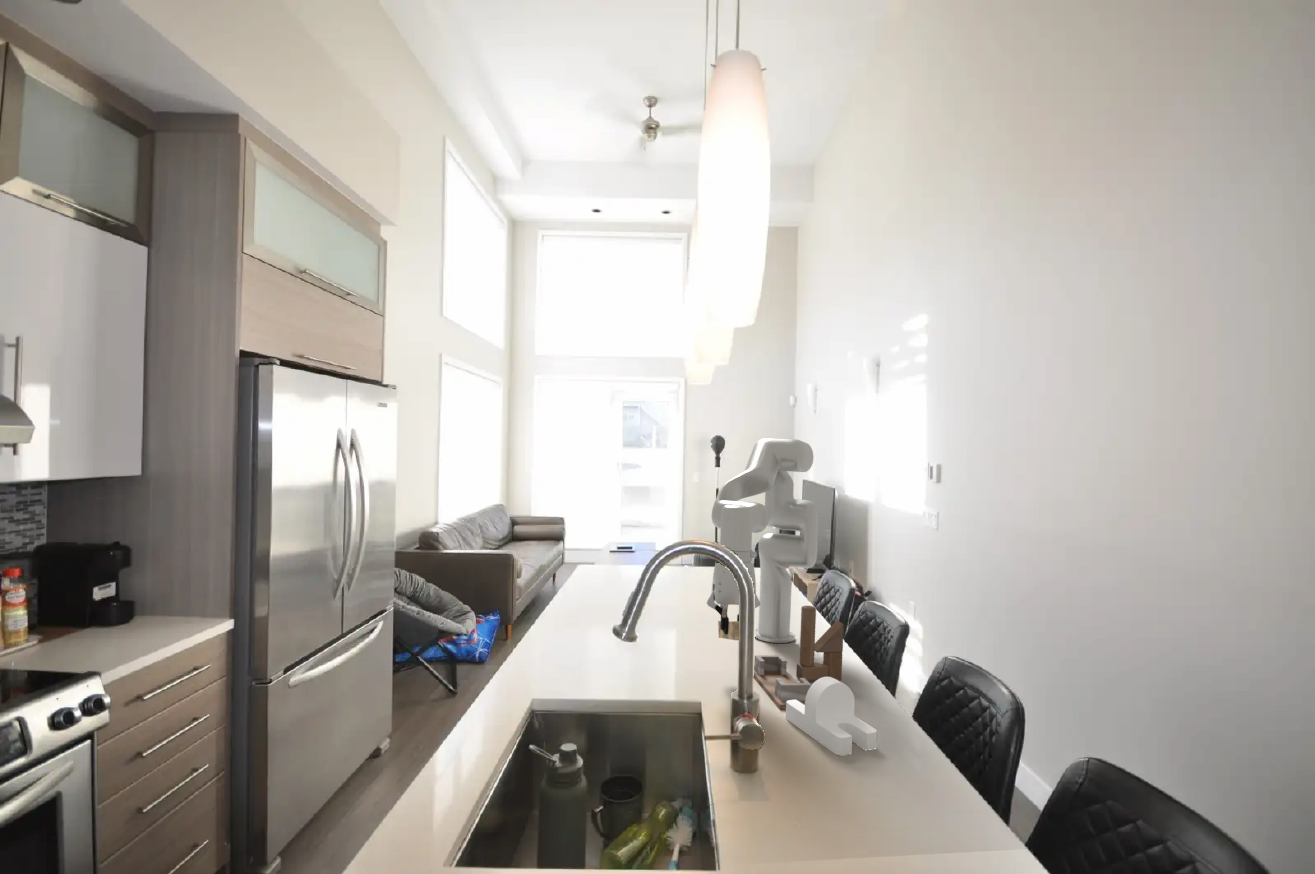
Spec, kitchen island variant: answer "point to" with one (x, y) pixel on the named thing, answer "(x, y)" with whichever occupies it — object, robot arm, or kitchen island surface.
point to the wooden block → (819, 648)
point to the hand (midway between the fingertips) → (732, 632)
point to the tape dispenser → (831, 717)
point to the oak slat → (730, 630)
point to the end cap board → (779, 680)
